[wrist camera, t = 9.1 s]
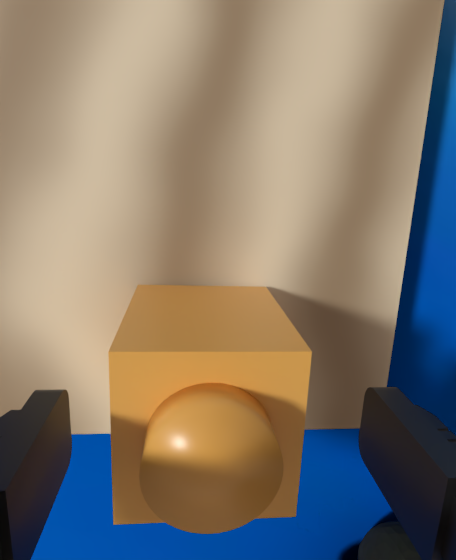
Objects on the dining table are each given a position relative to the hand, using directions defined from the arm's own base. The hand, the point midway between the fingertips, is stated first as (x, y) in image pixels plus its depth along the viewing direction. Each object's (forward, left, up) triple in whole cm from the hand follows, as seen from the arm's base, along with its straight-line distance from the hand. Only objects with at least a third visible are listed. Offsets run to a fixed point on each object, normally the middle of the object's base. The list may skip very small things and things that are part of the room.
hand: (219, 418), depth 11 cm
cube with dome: (0, 0, -5) cm, 5 cm away
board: (0, -5, -7) cm, 8 cm away
